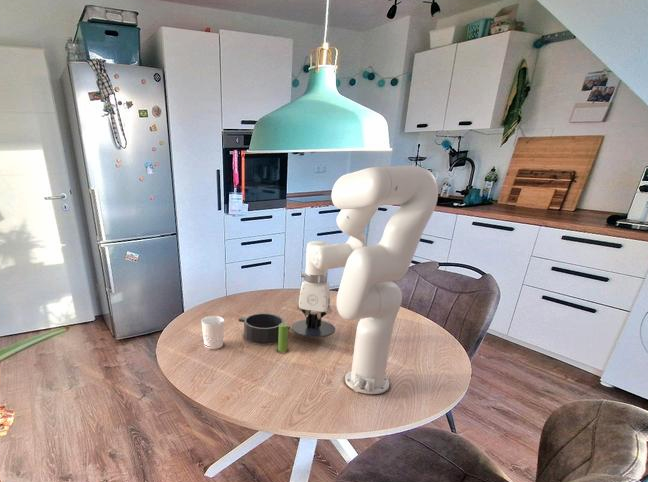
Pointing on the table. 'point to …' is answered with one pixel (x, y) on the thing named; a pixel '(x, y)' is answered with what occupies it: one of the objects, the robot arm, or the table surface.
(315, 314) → the pot lid
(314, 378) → the table surface
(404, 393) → the table surface
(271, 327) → the pot
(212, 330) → the white cup
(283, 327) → the green cylinder
